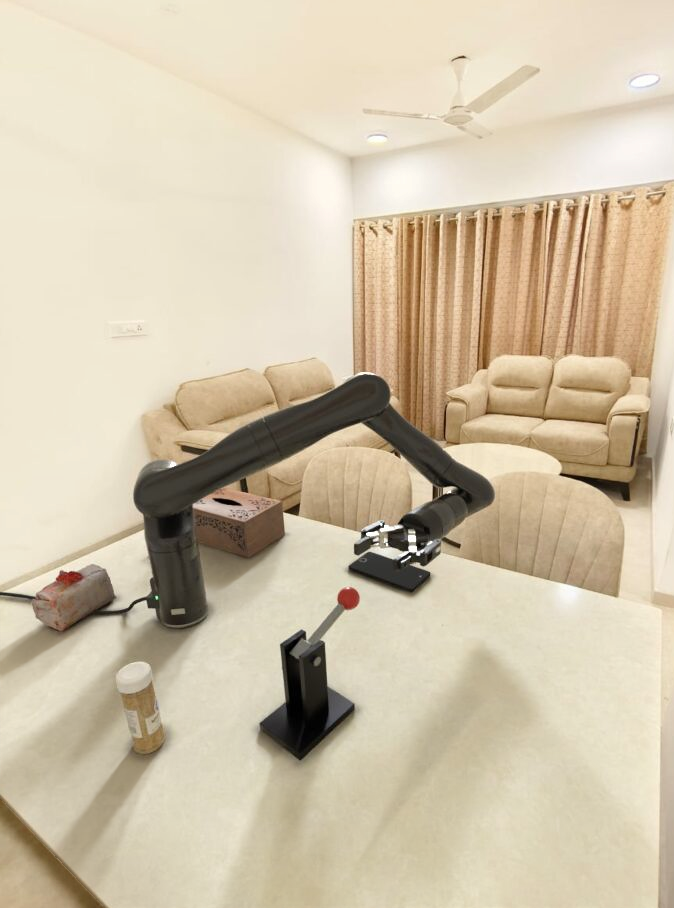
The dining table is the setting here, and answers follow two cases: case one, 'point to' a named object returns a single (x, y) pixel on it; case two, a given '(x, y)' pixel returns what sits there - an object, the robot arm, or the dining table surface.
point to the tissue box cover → (238, 521)
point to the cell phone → (389, 571)
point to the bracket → (305, 701)
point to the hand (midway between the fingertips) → (374, 558)
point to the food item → (73, 596)
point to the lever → (328, 620)
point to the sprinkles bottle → (141, 706)
